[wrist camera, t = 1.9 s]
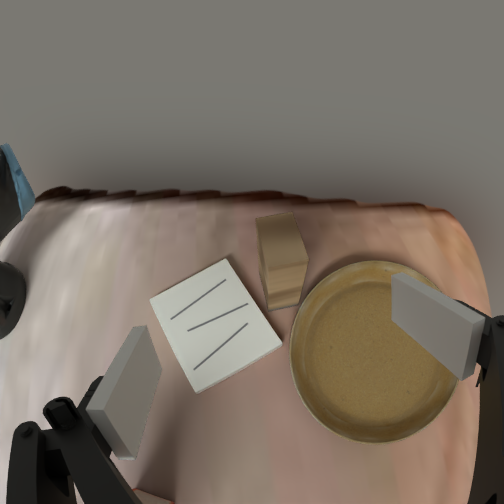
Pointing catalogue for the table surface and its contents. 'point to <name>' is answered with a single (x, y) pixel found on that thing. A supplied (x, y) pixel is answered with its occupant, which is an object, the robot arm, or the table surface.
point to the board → (213, 326)
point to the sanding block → (281, 260)
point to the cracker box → (150, 498)
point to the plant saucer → (365, 359)
